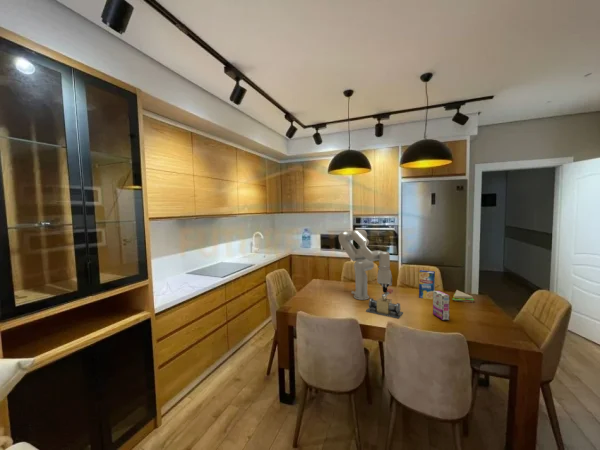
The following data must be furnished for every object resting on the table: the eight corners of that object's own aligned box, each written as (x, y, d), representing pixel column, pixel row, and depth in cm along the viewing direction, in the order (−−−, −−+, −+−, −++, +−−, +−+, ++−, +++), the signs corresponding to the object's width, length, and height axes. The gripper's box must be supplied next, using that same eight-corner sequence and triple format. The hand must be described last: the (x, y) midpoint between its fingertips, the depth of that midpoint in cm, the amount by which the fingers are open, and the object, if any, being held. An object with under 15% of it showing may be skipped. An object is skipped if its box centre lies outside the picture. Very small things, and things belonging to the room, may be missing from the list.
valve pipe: (365, 311, 187) (365, 297, 186) (371, 306, 196) (371, 293, 195) (398, 318, 173) (398, 303, 173) (403, 313, 182) (403, 298, 182)
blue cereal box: (433, 300, 207) (433, 273, 206) (418, 298, 213) (418, 271, 212) (434, 298, 213) (435, 271, 212) (420, 295, 219) (420, 270, 218)
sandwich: (471, 297, 214) (471, 291, 214) (475, 304, 197) (475, 298, 196) (450, 294, 221) (450, 289, 221) (451, 302, 204) (451, 295, 203)
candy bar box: (449, 320, 170) (450, 295, 169) (442, 320, 169) (442, 295, 168) (439, 313, 181) (439, 290, 180) (432, 313, 180) (432, 290, 180)
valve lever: (385, 298, 182) (385, 295, 182) (381, 297, 184) (381, 294, 184) (393, 291, 196) (393, 289, 196) (389, 291, 198) (389, 288, 198)
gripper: (373, 267, 198) (373, 291, 199) (392, 270, 188) (392, 295, 188) (377, 266, 203) (378, 289, 204) (396, 268, 193) (396, 292, 194)
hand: (385, 292), depth 196 cm, fingers closed
